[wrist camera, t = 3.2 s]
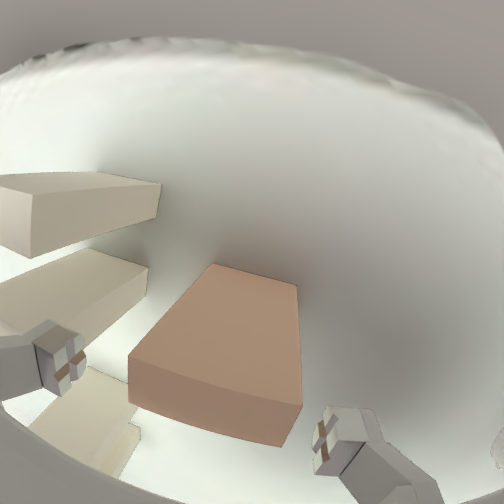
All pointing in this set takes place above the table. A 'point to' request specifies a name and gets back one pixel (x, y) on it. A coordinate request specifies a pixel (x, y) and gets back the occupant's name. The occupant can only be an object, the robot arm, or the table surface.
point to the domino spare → (224, 358)
